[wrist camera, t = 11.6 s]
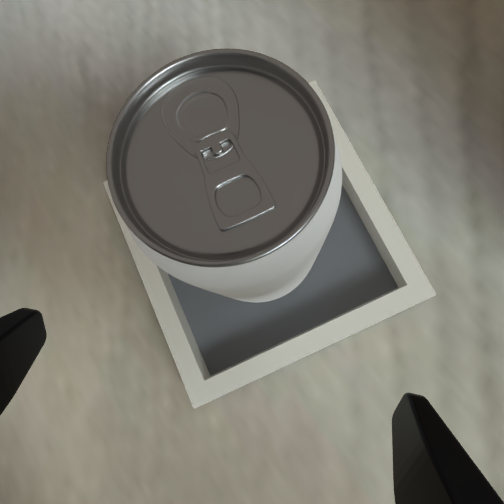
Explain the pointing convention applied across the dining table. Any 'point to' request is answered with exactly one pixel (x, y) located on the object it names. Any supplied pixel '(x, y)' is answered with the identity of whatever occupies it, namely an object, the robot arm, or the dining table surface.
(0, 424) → the dining table surface
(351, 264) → the square tray
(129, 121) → the can
